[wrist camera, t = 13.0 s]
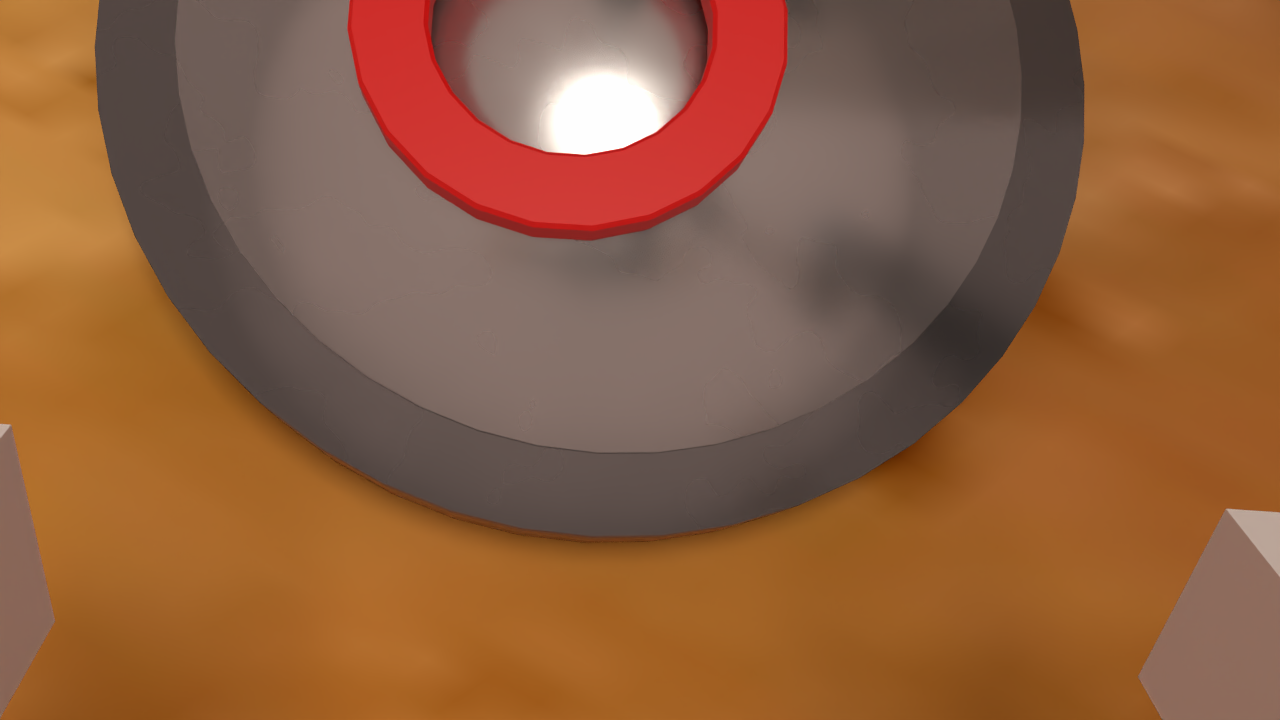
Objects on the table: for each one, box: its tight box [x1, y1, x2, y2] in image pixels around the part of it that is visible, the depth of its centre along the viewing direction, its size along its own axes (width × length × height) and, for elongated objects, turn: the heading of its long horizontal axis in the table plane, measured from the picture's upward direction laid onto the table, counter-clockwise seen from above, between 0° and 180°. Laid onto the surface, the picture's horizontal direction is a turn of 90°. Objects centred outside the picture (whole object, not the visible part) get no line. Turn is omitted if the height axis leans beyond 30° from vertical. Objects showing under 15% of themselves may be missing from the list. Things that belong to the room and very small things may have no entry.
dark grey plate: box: [95, 0, 1084, 543], centre depth 23 cm, size 20×20×2 cm
